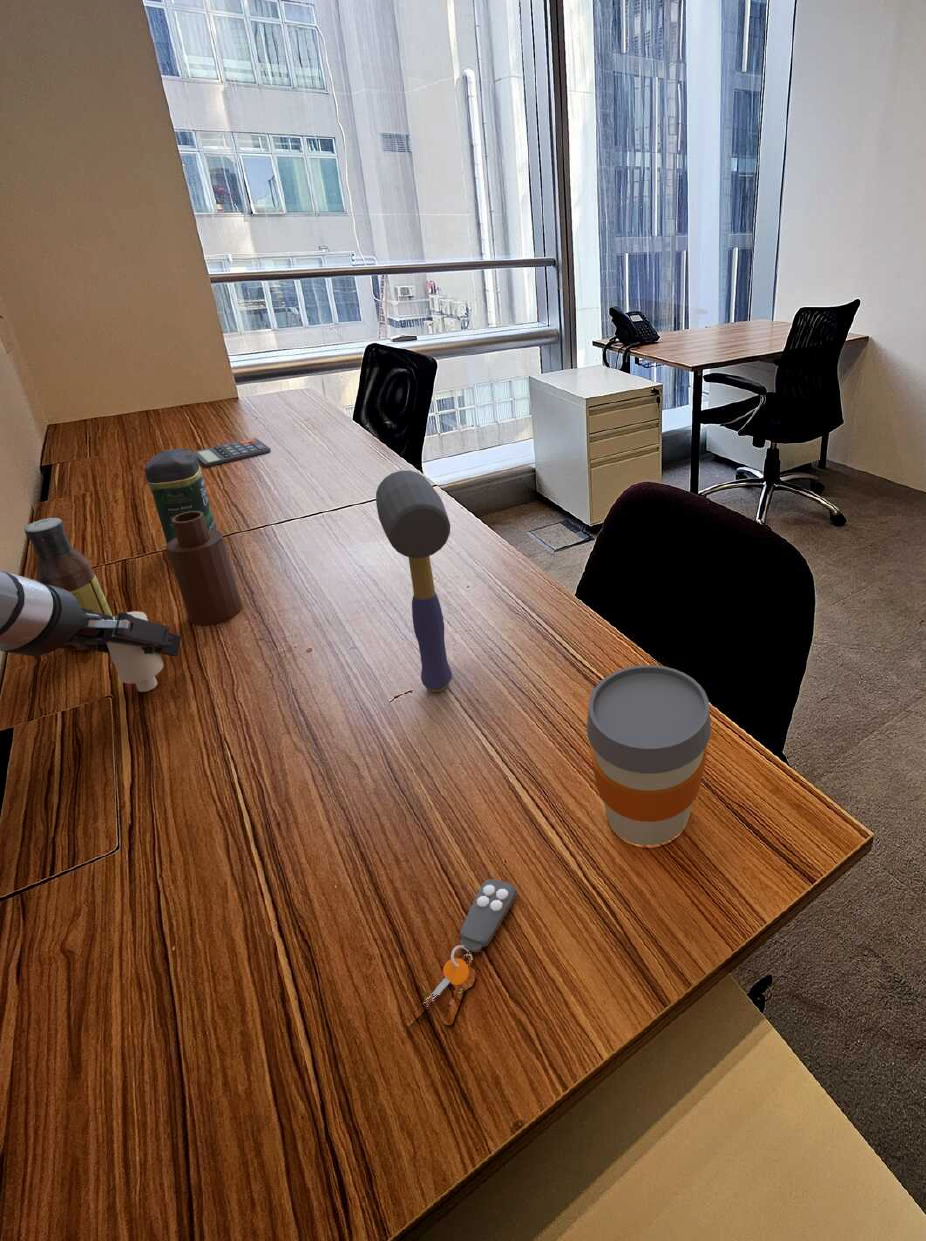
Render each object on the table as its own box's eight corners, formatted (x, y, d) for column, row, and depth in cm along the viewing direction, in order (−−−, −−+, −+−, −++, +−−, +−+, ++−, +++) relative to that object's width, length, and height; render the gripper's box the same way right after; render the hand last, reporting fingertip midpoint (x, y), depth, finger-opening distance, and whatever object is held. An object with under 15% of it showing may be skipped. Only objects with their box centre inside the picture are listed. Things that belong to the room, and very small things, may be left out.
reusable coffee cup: (724, 846, 69) (732, 734, 63) (605, 878, 66) (602, 764, 60) (682, 756, 80) (686, 654, 74) (579, 780, 77) (574, 675, 71)
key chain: (484, 883, 66) (483, 873, 65) (519, 894, 65) (518, 883, 64) (405, 1028, 54) (403, 1017, 54) (446, 1043, 53) (444, 1032, 53)
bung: (117, 699, 89) (91, 633, 85) (140, 675, 93) (116, 611, 89) (155, 698, 89) (131, 632, 85) (176, 674, 94) (154, 610, 89)
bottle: (180, 626, 104) (147, 528, 97) (204, 600, 111) (175, 507, 104) (228, 624, 105) (199, 527, 98) (250, 599, 111) (224, 505, 104)
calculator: (270, 448, 173) (204, 463, 163) (271, 451, 173) (205, 466, 164) (255, 437, 181) (191, 451, 171) (256, 440, 181) (192, 454, 171)
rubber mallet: (476, 706, 88) (451, 497, 76) (418, 724, 85) (381, 510, 73) (455, 652, 98) (429, 461, 86) (402, 667, 95) (367, 471, 83)
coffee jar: (216, 553, 125) (189, 460, 118) (166, 561, 122) (135, 466, 115) (223, 531, 133) (198, 442, 126) (176, 538, 130) (148, 448, 123)
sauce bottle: (89, 627, 104) (43, 511, 96) (129, 628, 104) (86, 512, 96) (54, 654, 98) (1, 532, 90) (96, 655, 98) (47, 533, 90)
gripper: (-83, 655, 70) (81, 677, 91) (98, 648, 71) (218, 672, 92) (-59, 583, 72) (95, 621, 94) (115, 578, 73) (227, 617, 95)
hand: (155, 646), depth 93 cm, fingers closed on bung, 5 cm apart
